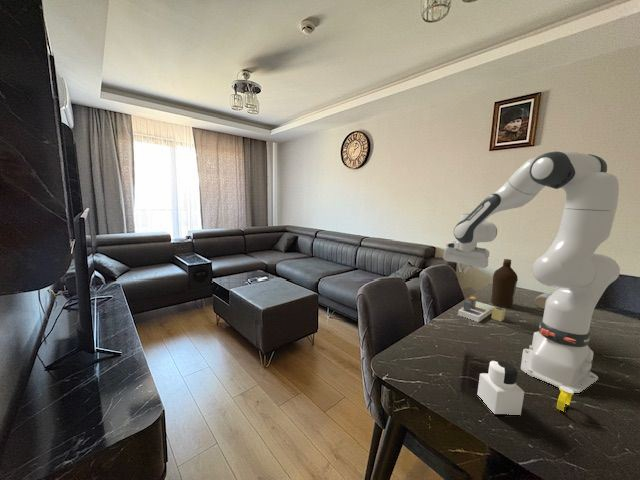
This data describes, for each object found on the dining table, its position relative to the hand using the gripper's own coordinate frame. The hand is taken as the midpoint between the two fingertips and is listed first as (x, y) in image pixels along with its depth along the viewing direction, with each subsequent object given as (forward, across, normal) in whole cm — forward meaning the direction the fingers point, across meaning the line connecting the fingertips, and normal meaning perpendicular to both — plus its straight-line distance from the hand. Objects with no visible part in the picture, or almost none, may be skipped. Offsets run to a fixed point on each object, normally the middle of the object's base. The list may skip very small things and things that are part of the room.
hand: (463, 272), depth 129 cm
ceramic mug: (+19, -28, -38) cm, 51 cm away
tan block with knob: (+19, -16, -2) cm, 25 cm away
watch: (+19, -46, +46) cm, 68 cm away
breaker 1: (+17, -6, +6) cm, 19 cm away
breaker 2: (+17, -6, 0) cm, 18 cm away
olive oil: (+19, -12, -24) cm, 33 cm away
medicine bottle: (+19, -35, +59) cm, 71 cm away
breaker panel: (+19, -8, 0) cm, 21 cm away
